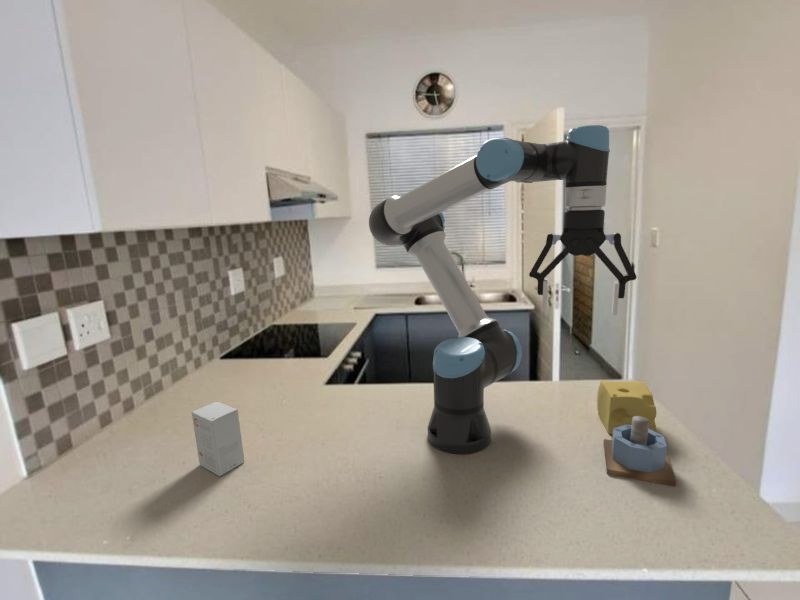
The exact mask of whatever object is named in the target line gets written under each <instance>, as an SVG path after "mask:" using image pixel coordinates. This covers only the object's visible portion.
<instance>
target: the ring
mask: <svg viewBox="0 0 800 600" xmlns="http://www.w3.org/2000/svg"><path fill="white" fill-rule="evenodd" d="M631 428H632V425H623V426H620V427H616V428H613V434H612V438H611V440H612V457H613V459H614V460H615V461H617V462H618V463H620V464H622V465H623V466H625V467H626V468H628V469H631V470H637V471H643V472H648V473H652V472H655V471H657V470H660V469H663V468H664V466H665V458H666V454H667V448H668V445H667V442H666V439H665V436H664V435H662V434H660V433H658V432H657V431H656V432H654V431H652V430H651V429H649V428H648V437H647V446H645V445H639V444H633V443H632V442H630V439H631Z"/></svg>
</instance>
